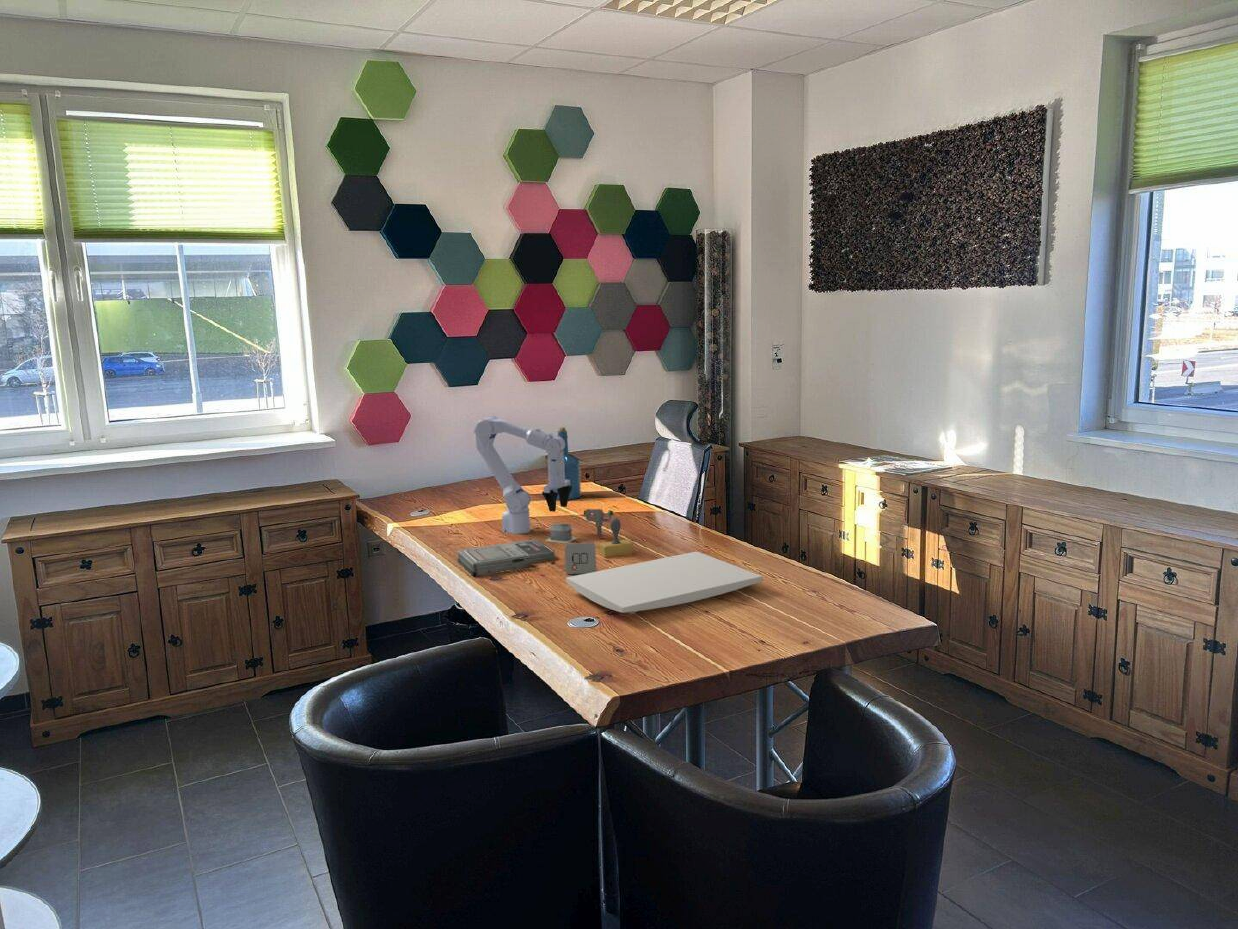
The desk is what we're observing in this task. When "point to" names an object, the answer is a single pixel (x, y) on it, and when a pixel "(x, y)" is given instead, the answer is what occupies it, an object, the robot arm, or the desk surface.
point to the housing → (561, 532)
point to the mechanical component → (598, 517)
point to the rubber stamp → (616, 543)
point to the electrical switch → (580, 558)
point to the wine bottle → (570, 468)
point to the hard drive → (504, 557)
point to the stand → (561, 541)
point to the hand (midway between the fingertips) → (558, 508)
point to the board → (662, 582)
